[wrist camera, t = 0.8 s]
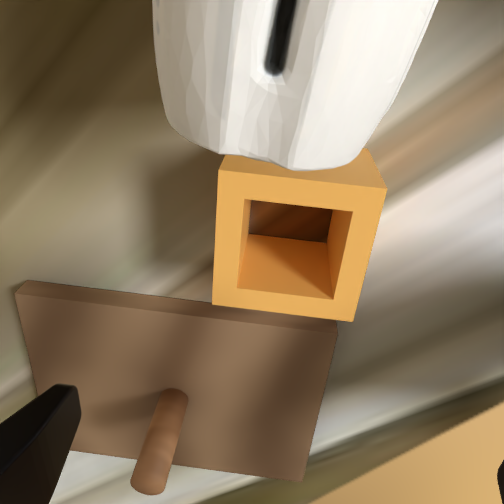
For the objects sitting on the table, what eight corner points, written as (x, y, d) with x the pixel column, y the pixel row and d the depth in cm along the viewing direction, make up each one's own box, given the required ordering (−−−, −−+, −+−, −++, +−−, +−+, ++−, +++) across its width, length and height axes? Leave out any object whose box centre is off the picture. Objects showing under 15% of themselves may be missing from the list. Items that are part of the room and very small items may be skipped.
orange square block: (367, 148, 18) (387, 188, 14) (342, 262, 20) (352, 322, 16) (235, 134, 18) (218, 169, 14) (227, 248, 20) (212, 304, 17)
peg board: (335, 318, 22) (348, 420, 16) (302, 464, 28) (303, 574, 23) (27, 280, 22) (-58, 366, 17) (59, 431, 28) (3, 530, 23)
